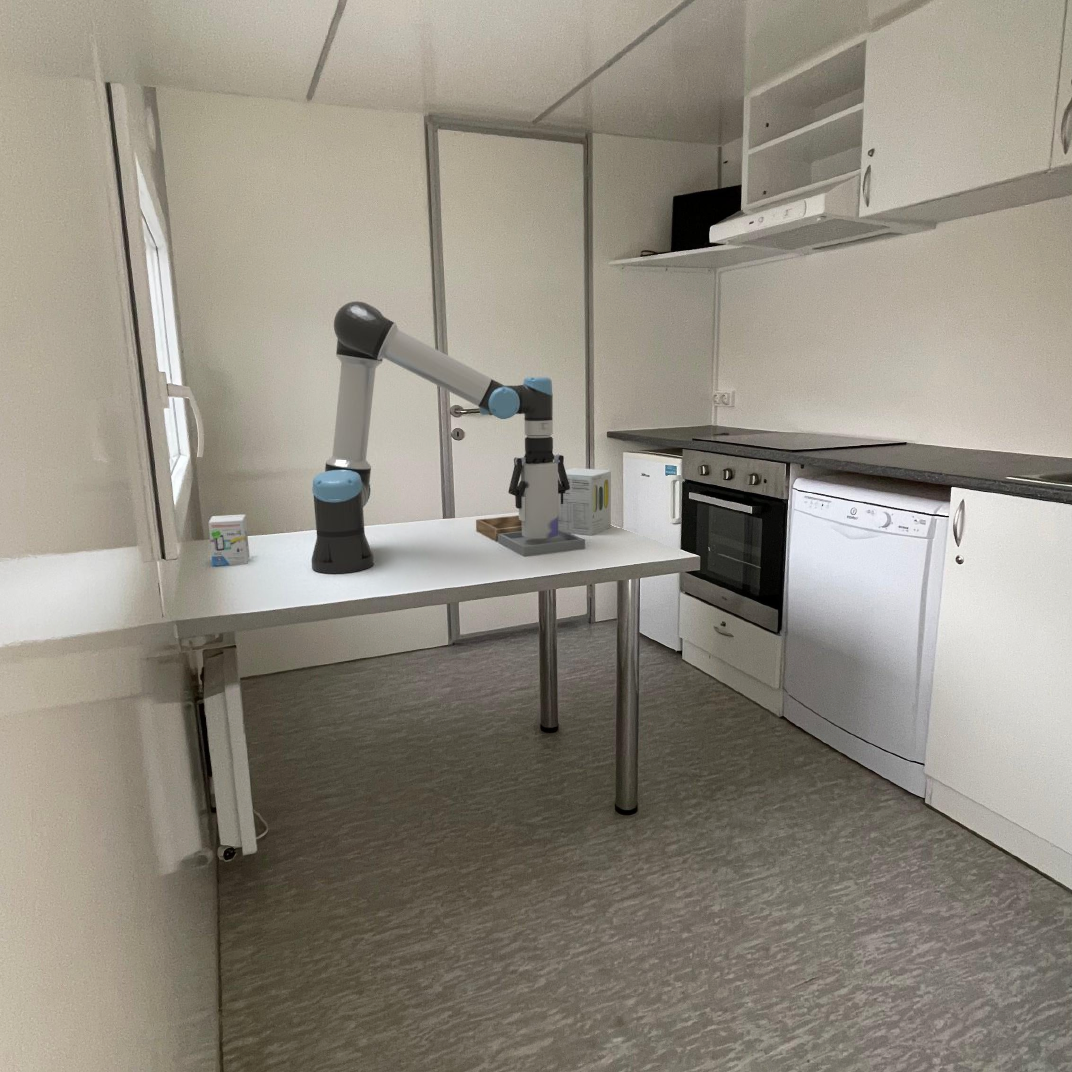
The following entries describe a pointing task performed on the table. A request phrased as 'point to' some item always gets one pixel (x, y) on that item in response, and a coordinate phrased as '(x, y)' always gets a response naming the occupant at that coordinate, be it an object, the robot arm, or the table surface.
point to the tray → (540, 543)
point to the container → (540, 500)
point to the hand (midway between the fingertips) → (539, 518)
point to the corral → (498, 526)
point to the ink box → (228, 540)
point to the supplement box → (586, 501)
